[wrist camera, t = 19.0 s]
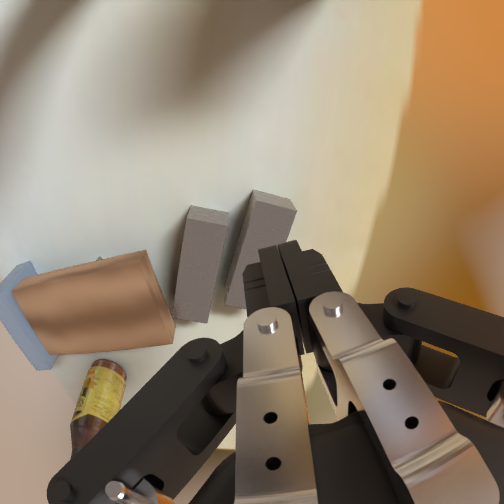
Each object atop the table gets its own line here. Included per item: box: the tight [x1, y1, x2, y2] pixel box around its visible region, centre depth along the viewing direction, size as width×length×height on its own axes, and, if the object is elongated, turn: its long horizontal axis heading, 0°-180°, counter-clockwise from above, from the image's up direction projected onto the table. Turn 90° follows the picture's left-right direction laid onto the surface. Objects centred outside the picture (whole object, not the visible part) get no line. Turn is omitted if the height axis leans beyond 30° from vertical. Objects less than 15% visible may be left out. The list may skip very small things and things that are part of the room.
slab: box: [11, 250, 176, 355], centre depth 31 cm, size 10×18×3 cm, turn 101°
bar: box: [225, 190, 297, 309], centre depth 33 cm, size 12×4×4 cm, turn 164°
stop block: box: [0, 261, 58, 370], centre depth 32 cm, size 12×3×8 cm, turn 14°
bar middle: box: [172, 206, 228, 323], centre depth 33 cm, size 12×4×4 cm, turn 167°
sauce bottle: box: [70, 359, 127, 459], centre depth 34 cm, size 6×6×20 cm
